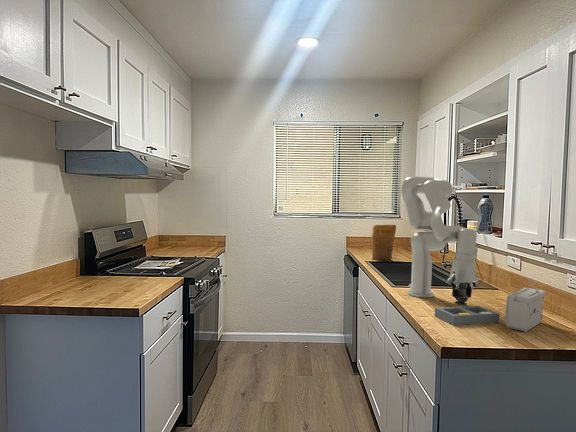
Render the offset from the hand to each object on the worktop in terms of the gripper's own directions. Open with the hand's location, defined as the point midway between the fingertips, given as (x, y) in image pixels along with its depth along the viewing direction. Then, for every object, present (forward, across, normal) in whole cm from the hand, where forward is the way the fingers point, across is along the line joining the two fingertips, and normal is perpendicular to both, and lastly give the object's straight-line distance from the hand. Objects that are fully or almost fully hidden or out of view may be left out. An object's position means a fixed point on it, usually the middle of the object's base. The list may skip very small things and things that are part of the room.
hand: (461, 296), depth 179 cm
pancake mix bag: (+12, -32, -131) cm, 136 cm away
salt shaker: (+3, 0, 0) cm, 3 cm away
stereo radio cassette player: (+5, -10, +25) cm, 27 cm away
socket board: (+5, +8, +14) cm, 16 cm away
